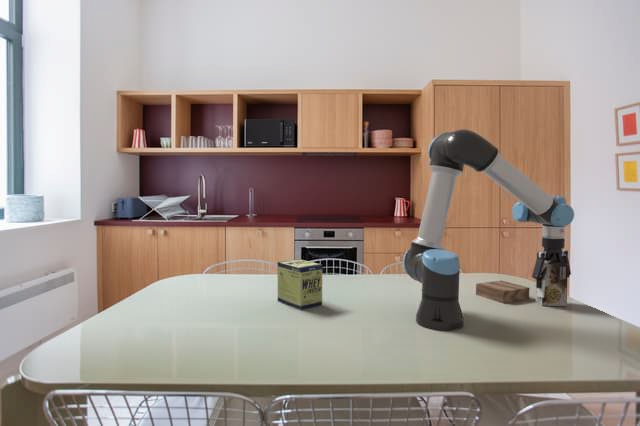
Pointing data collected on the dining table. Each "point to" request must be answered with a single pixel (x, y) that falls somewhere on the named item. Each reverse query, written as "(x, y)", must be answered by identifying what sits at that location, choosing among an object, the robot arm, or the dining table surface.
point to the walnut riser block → (502, 291)
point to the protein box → (300, 283)
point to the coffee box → (554, 285)
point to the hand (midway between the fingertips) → (550, 295)
